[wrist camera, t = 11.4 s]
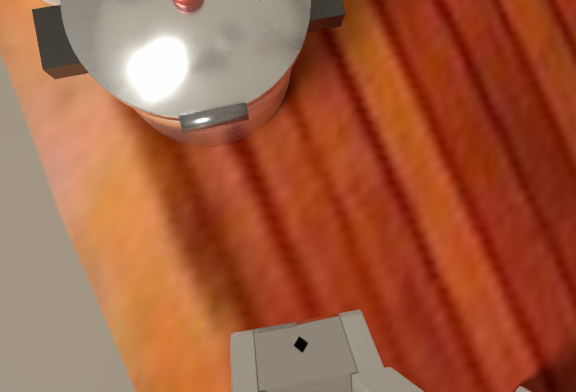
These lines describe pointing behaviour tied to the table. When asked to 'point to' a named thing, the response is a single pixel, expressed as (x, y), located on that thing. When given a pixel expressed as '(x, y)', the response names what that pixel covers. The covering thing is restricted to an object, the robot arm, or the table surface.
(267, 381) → the robot arm
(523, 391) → the skincare box
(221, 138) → the cooker pot
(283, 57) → the lid
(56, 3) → the coffee cup
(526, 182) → the table surface
